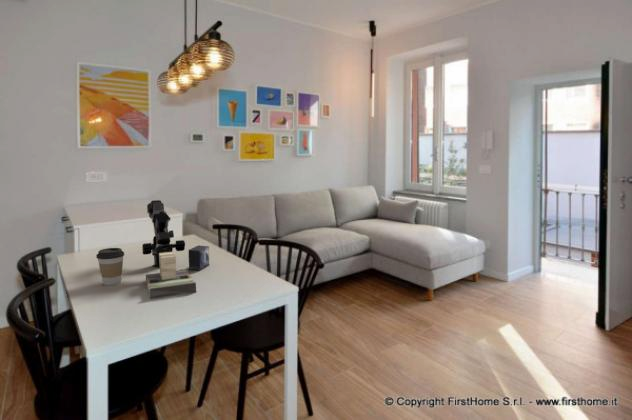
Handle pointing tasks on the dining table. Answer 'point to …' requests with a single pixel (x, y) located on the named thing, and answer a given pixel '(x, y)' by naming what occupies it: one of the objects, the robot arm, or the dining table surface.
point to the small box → (198, 258)
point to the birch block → (167, 265)
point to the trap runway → (170, 285)
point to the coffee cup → (111, 265)
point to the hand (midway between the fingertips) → (166, 262)
